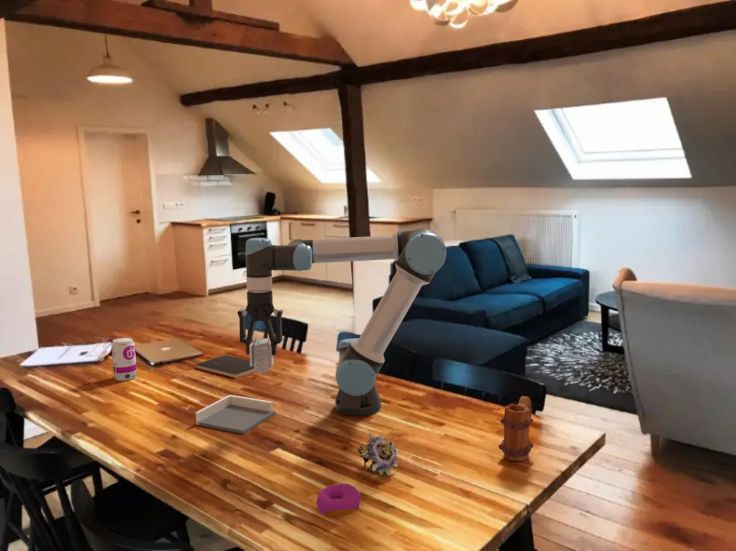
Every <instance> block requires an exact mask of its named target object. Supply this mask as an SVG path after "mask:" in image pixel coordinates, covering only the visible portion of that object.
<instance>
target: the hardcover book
mask: <svg viewBox="0 0 736 551" xmlns="http://www.w3.org/2000/svg"><path fill="white" fill-rule="evenodd" d="M195 365H196V367H197V369H200V370H204V371H208V372H211V373H215V374H218V373H219V374H218V375H222V374H223V376H226V375H227V377H230V378H234V379H236V378H239V377H242V376H246V375H248V374H251V373H253V372H254V365H253V366H250V359H245V358H240V357H237V356H233V355H227V354H225V355H224V354H223V355H221V356H218V357H214V358H211V359H207V360H205V361H201V362H198V363H195ZM254 373H255V372H254Z"/></svg>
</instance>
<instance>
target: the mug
mask: <svg viewBox="0 0 736 551" xmlns="http://www.w3.org/2000/svg"><path fill="white" fill-rule="evenodd" d="M532 411H533V410H532V402H531V399H530V397H529V396H525V395H524V396H523V395H521V397H520V398H519V400H518V404H514V403H510V404H508V405H506V406H505V407H504V415H503V416H502V418H501V419H500V420H499V423H501V424H502V425H503V434H504V435H503V439H502V441H501V443H500V444H499V445H498V449H499V450H501V451H502V453H503V456H504V458H505V459H507V460H509V461H512V460H514V461H513V462H523V461H525V459H526V460H527V459H528V458H529V454H530V453H531V451H532V448H534V443H532V442H531V441H530V427H531V424H532V423H533V422H534V419H533V418H532Z"/></svg>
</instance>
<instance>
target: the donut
mask: <svg viewBox="0 0 736 551" xmlns="http://www.w3.org/2000/svg"><path fill="white" fill-rule="evenodd" d="M360 504H361V494H360V492H359V490H358V489H357V488H356V487H355V486H354V485H352V484H349V483H335V484H331V485H328V486H325V487H324V488H322V489H321V491H319V493H318V495H317V497H316V508H317V509H318V510H319V512H320V513H321V514H323V515H325V516H328V517H332V516H338V517H344V516H348V515H351V514H352V513H353V512H354V511H356V510H357V511H358V510H359V506H360Z"/></svg>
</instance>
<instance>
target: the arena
mask: <svg viewBox="0 0 736 551" xmlns="http://www.w3.org/2000/svg"><path fill="white" fill-rule="evenodd" d="M273 403H274V402H273V401H269V400H263V399H257V398H252V397H246V396H240V395H234V394H229V395H227V396H225V397H222V398H221V399H219V400H217V401H215V402H213V403H211V404H208V405H207V406H204V407H203V408H201V409H200V410H197V411H195V421H196V423H195V424H196V425H197V426H203V427H207V428H212V429H216V430H217V429H218V430H220V431H221V430H222V431H228V432H232V433H238V434H242V435H243V434H244V435H245V434H247V433H248V432H249V431H251V430H253V429H255V428H256V427H258V426H260V425H261V424H263V423H264V422H265V421H268V420H269V419H270V418H272V417H273V416H275V415H277V414H276V410H274V404H273Z"/></svg>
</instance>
